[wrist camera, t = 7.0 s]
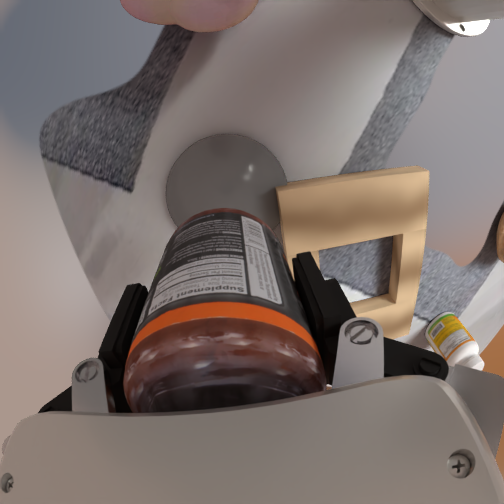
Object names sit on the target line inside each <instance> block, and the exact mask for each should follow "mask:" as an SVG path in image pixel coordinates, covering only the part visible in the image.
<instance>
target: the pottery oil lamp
mask: <svg viewBox="0 0 504 504" xmlns="http://www.w3.org/2000/svg"><path fill="white" fill-rule="evenodd" d="M497 255H498V257H499V259H500V260H501V261H502V262H503V263H504V213H503V214H502V216H501V219H500V221H499V225H498V229H497Z"/></svg>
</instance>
